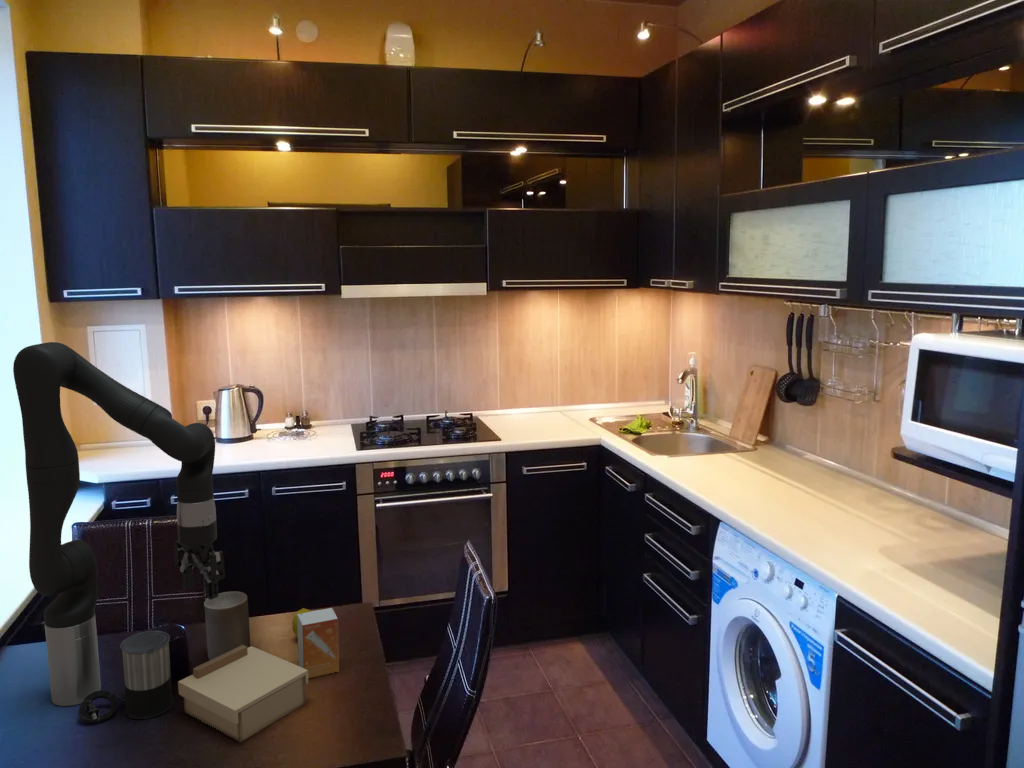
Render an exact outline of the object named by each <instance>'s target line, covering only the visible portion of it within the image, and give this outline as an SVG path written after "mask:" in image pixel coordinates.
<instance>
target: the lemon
mask: <svg viewBox="0 0 1024 768" xmlns="http://www.w3.org/2000/svg"><path fill="white" fill-rule="evenodd" d="M311 611H312V610H310V609H307V608H304V607H302V608H301V609H299V610H298V611H296V613H294V615H293V618H292V626H291V628H292V632H293V633H294V635H295V636H296V637H298V632H297V614H301V613H306V612H311Z"/></svg>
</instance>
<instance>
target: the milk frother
mask: <svg viewBox="0 0 1024 768" xmlns="http://www.w3.org/2000/svg"><path fill="white" fill-rule="evenodd" d="M170 640H171V637H170V634H169V633H167V632H165V631H161V630H146V631H142V632H138V633H134V634H133V635H129V636H128V637H126V638H125V639H124V640H122V642H121V643H120V646H119V648H120V649H121V651H122V652H121V653H122V665H123V676H124V677H123V678H124V692H125V699H124V698H121V697H120V696H118V695H117V694H115V693H114V692H111V691H109V690H101V691H96V692H93V693H91V694H89V695H88V696H87V697H86V698H85V699H84V700H83V701H82V703H80V704H79V708H78V710H77V711H78V712H77V713H78V716H79V719H81V721H82V722H84V723H87V724H89V723H91V724H94V723H95V724H96V723H101V722H104V721H106V720H108V719H110V718H111V717H113V715H114V714H115V713H116V712H117V710H118V707H119V700H120V701H121V702H122V703H125V709H124V714H125V716H127V717H128V718H130V719H132V720H133V719H134V720H146V719H151V718H155V717H158V716H160V715H162V714H165V713H166V712H168V710H170V709H171V708H172V707H173V705H174V702H175V699H174V697H173V689H172V677H171V660H170V645H169V641H170ZM97 699H106V700H108V701H109V702H110V703H111V706H110V708H109V710H108V711H106V712H105V713H103V714H100V715H99V712H100V709H99V708H97V707H96V706H95V703H94V701H95V700H97Z"/></svg>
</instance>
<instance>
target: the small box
mask: <svg viewBox="0 0 1024 768" xmlns="http://www.w3.org/2000/svg"><path fill="white" fill-rule="evenodd" d="M310 611H311V612H306V613H301V614H297V632H298V636H297V657H298V661H297V662H298V666H299V667H302V668H304V669H306V670H308V679H311V678H316V677H320V676H325V675H329V674H330V673H331V674H335V672H337V673H339V672H340V652H339V650H340V647H339V618H338V617H337V615H336V612H335V611H334V608H333V607H329V608H328V607H327V608H324V609H323V608H322V609H316V610H310Z"/></svg>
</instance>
